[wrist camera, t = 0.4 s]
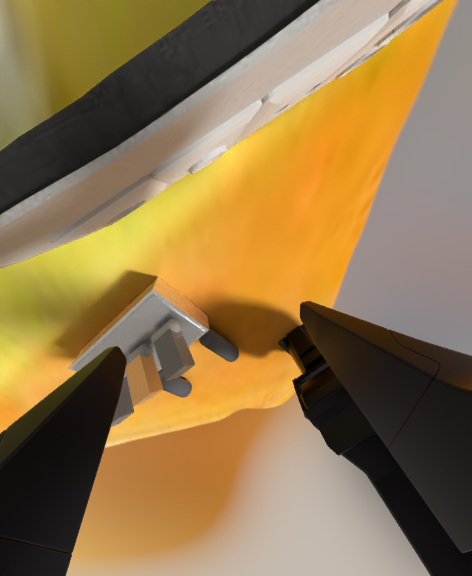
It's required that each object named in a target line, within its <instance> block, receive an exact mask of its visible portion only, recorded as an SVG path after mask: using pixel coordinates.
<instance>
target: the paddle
mask: <svg viewBox="0 0 472 576" xmlns="http://www.w3.org/2000/svg"><path fill="white" fill-rule="evenodd" d="M132 413H134V409H133V404H132V399H131V395H130V390H129V385H128V380H127V376H126V370H125V374H124V379H123V384H122V389H121V394H120V398H119V401H118V405H117V408H116V411H115V414H114V418H113V421H112V424H111V427H112V426H114V425H117V424H119V423H121V422H122V421H123V420H125V419H126V418H127V417H128V416H130V415H131V414H132Z"/></svg>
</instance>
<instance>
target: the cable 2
mask: <svg viewBox="0 0 472 576" xmlns="http://www.w3.org/2000/svg"><path fill="white" fill-rule="evenodd" d="M199 341H200V343H201V344H202V345H203V346H205V347H206V348H208V349H210V350H211V351H213V352H214V353H216V354H217V355H219V356H220V357H222V358H224V359H225V360H227V361H229V362H233V361H235V360H236V359H237V358H238V356H239V350H238V348H237V347H236V346H234V345H233V344H232V343H230V342H229V341H228V340H226V339H225V338H223V337H222V336H221V335H219V334H218V333H217V332H215V331H214V330H212V329H210V328H209V331H207V332H206V333H205V334H204V335H203V336H201V337H200V338H199Z"/></svg>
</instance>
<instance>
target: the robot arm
mask: <svg viewBox="0 0 472 576" xmlns="http://www.w3.org/2000/svg"><path fill="white" fill-rule="evenodd" d="M300 319H301V321H302V323H303V325H301V326H298V327H297V328H296V329H294V330H293V331H291V332H290V333H289V334H287V335H286V337H285V338H283V339H282V340H281V341H279V345H280V346H281V347H282V348H284V349H285V350H286V351H287V352H288V353H289V354H290V355H291V356H292V357H293V359H294V361H295V362H296V364H297V366H298V367H299V369H300V371H301V372H302V375H301V376H299V377H298V378H295V379H294V380H292V381H293V384H294V388H295V391H296V394H297V396H298V399H299V402H300V404H301V407H302V410H303V412H304V416H305V418H306V419H308V420H310V422H311V423H312V424H313V425H314V426H315V427H316V428H317V429H318V430H320V432H321V434H322V436H323V438H324V439H325V442H326V444H327V445H328V447H329V448H330V449H332V450H333V451H334V452H335V453H336V454H337V455H343V456H344V457H345V458H346V459H348V460H349V461H350V462H351V463H353V464H354V465H355V466H357V467H358V468H359V469H360V470H362V471H363V472H364V473H365V474H366V475H367V476H368V478H369V479H370V481H371V483H372V484H373V486H374V487H375V488H376V490H377V492H378V494H379V495H380V497H381V498H382V500H383V501H384V503H385V504H386V506H387V508H388V509H389V511H390V512H391V514H392V516H393V517H394V519H395V520H396V522H397V523H398V525H399V527H400V528H401V530H402V531H403V533H404V534H405V536H406V538H407V539H408V541H409V542H410V544H411V545H412V547H413V548H414V550H415V552H416V553H417V554H418V556H419V558H420V559H421V561H422V563H423V564H424V566H425V567H426V569H427V571H428V572H429V574H430V575H431V576H472V356H470V355H467V354H463V353H461V352H457V351H454V350H451V349H447V348H444V347H441V346H437V345H434V344H431V343H428V342H425V341H421V340H418V339H415V338H412V337H409V336H406V335H404V334H401V333H398V332H395V331H392V330H388V329H386V328H384V327H381V326H378V325H375V324H372V323H369V322H367V321H364V320H361V319H358V318H356V317H353V316H350V315H347V314H344V313H341V312H338V311H336V310H333V309H330V308H327V307H325V306H322V305H319V304H316V303H313V302H311V301H306V302H302V303H301V304H300ZM280 342H283V343H281V344H280ZM126 364H127V359H126V357H125V355H124V354H123V352H122V350H121V349H120V348H119V347H118V346H113V347H109V348H107V349H105V350H104V351H103V352H102V353H100V354H99V355H98V356H97V357H95V358H94V359H93V360H92V361H90V362H89V363H88V364H87V365H85V366H84V367H83V368H82V369H80V370H79V371H78V372H77V373H75V374H74V375H73V376H72V377H70V378H69V379H68V380H67V381H65V382H64V383H63V384H62V385H60V386H59V387H58V388H57V389H55V390H54V391H53V392H52V393H50V394H49V395H48V396H47V397H45V398H44V399H43V400H42V401H40V402H39V403H38V404H37V405H35V406H34V407H33V408H32V409H30V410H29V411H28V412H27V413H25V414H24V415H23V416H22V417H20V418H19V419H18V420H17V421H15V422H14V423H13V424H12V425H10V426H9V427H8V428H7V430H4V431H3V432H1V433H0V576H66V573H67V570H68V566H69V563H70V560H71V557H72V554H71V553H72V552H73V549H74V546H75V543H76V539H77V536H78V533H79V529H80V526H81V523H82V520H83V516H84V513H85V510H86V506H87V503H88V500H89V497H90V493H91V490H92V487H93V483H94V480H95V477H96V473H97V470H98V467H99V464H100V460H101V457H102V454H103V451H104V447H105V444H106V441H107V437H108V434H109V431H110V428H111V424H112V421H113V418H114V414H115V411H116V408H117V405H118V401H119V398H120V394H121V389H122V384H123V379H124V374H125V369H126Z"/></svg>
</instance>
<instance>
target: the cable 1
mask: <svg viewBox="0 0 472 576" xmlns="http://www.w3.org/2000/svg"><path fill="white" fill-rule="evenodd" d="M158 373H159V376H160V380H161V383H162V386H163V390H164V391H167V392H169V393H172V394H174V395H177V396H179V397H187V396H188V395H189V394H190V393H191V390H192V385H191V383H190V382H189V381H187V380H185V379H183V378H181V377H178V378H176V379H171V380H167V381H165V378H164V375H163V372H162V369H161V370H159V371H158Z"/></svg>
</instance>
